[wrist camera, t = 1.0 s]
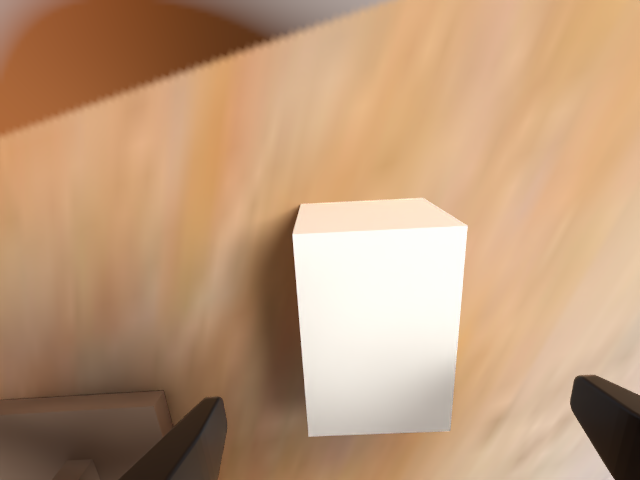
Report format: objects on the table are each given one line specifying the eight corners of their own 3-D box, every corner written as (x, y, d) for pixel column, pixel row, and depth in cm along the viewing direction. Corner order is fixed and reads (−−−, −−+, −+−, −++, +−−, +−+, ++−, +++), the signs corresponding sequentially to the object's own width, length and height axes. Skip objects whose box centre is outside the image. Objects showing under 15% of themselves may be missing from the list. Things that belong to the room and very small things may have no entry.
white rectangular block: (415, 351, 16) (450, 431, 12) (311, 356, 16) (308, 436, 12) (422, 196, 14) (467, 225, 10) (300, 203, 14) (292, 234, 10)
